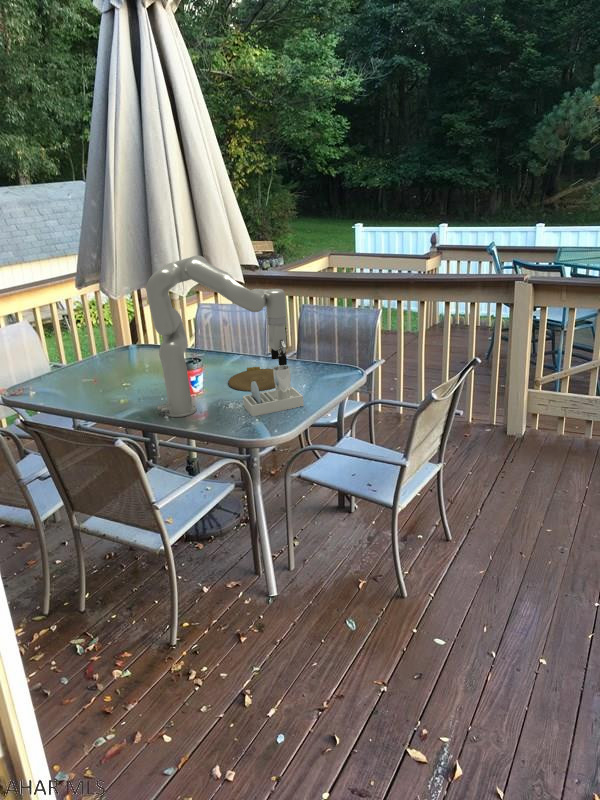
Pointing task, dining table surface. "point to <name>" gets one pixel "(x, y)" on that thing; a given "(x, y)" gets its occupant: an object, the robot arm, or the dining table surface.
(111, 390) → the dining table surface
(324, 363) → the dining table surface
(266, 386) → the decorative disc
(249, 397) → the rack
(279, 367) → the beer glass
